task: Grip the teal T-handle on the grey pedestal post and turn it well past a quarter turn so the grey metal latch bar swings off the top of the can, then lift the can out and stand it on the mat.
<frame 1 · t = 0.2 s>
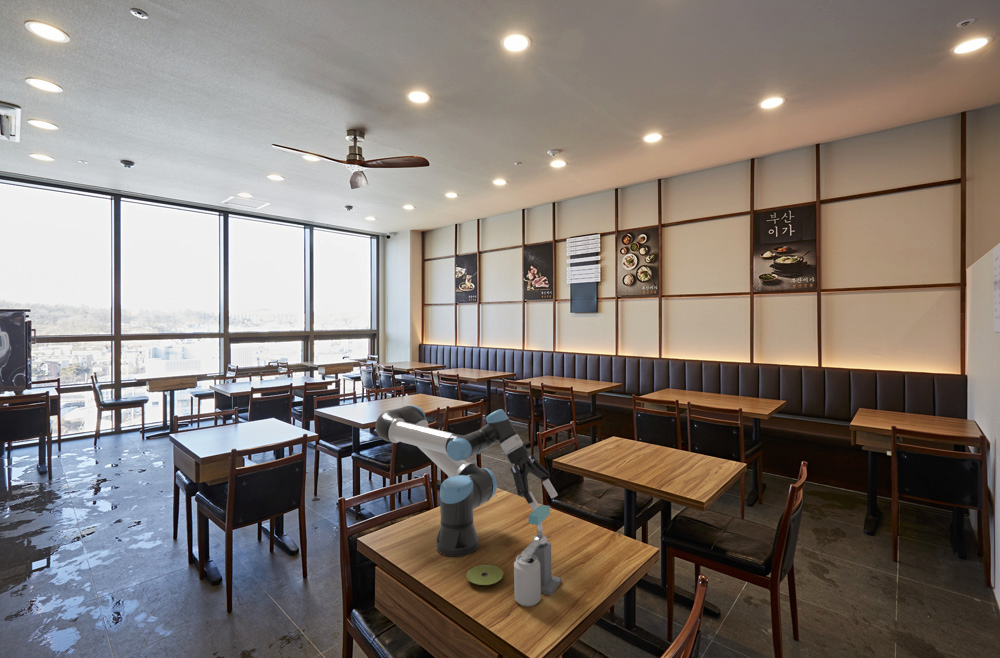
hand: (546, 503, 157), 16 cm above the table, tool tilted 35°, fingers open, 13 cm apart
grey pedestal post: (540, 584, 135), on the table
latch key: (535, 531, 133), point 17 cm above the table, hinge at 0.0°
mat: (485, 581, 138), on the table
can: (527, 601, 127), on the table
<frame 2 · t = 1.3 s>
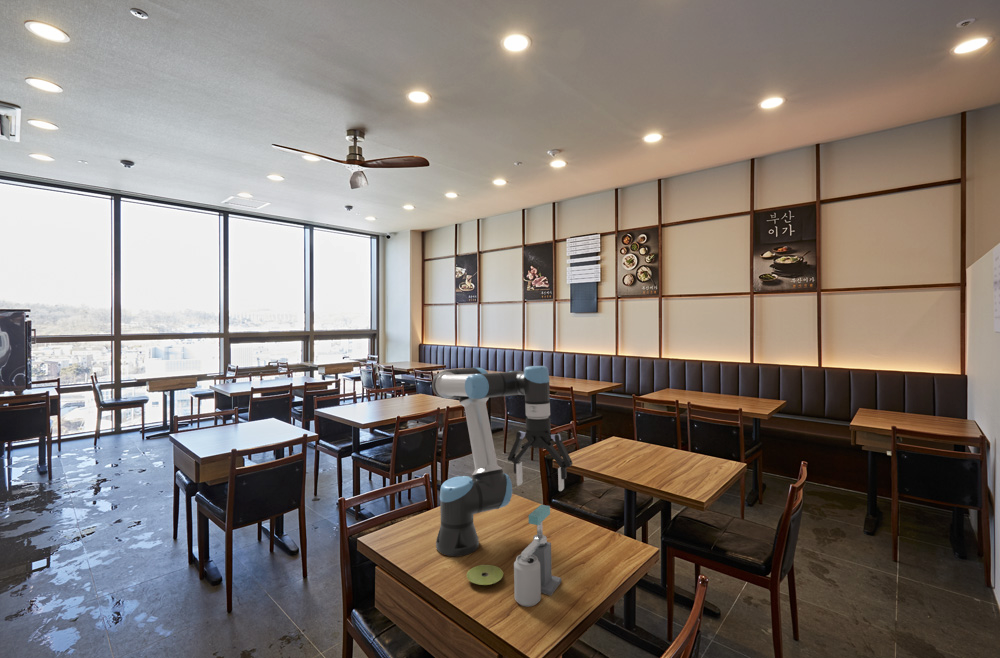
hand: (540, 486, 137), 29 cm above the table, tool pointing down, fingers open, 13 cm apart
nothing on the table moved.
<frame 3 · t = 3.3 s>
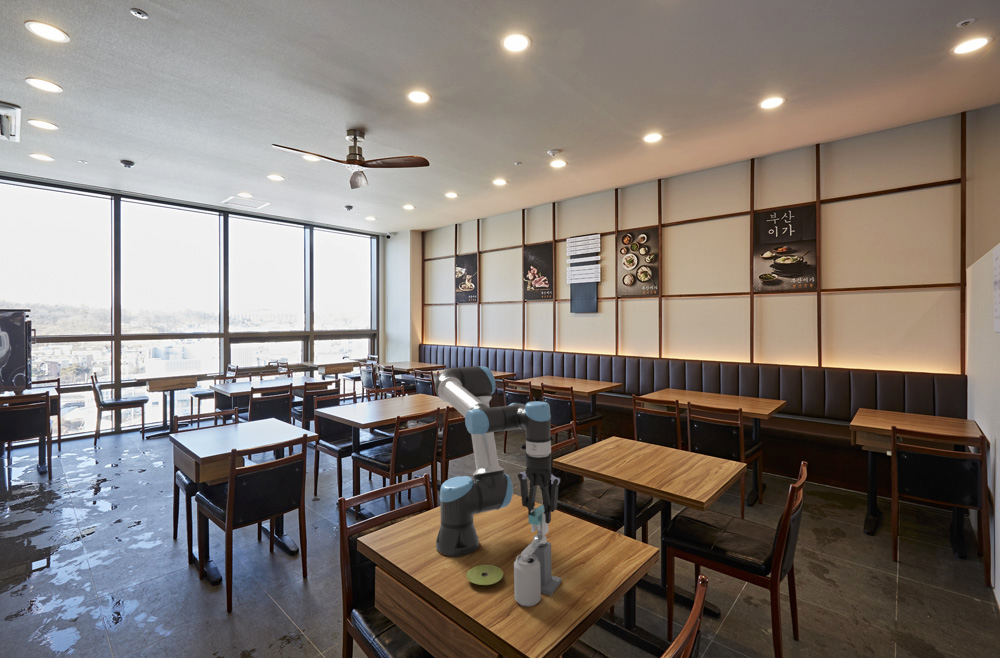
hand: (539, 531, 135), 16 cm above the table, tool pointing down, fingers closed on latch key, 3 cm apart
latch key: (535, 531, 133), point 17 cm above the table, hinge at 0.0°, touching gripper
everything else where it was.
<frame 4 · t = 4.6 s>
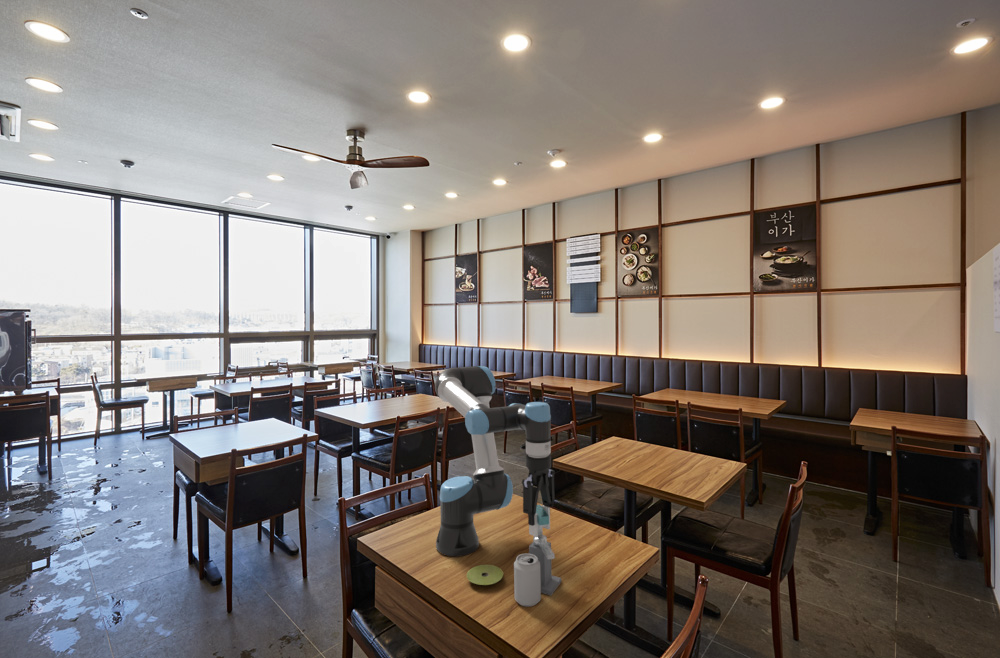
hand: (539, 531, 135), 16 cm above the table, tool pointing down, fingers closed on latch key, 5 cm apart
latch key: (542, 531, 132), point 17 cm above the table, hinge at 41.8°, touching gripper
everything else where it was.
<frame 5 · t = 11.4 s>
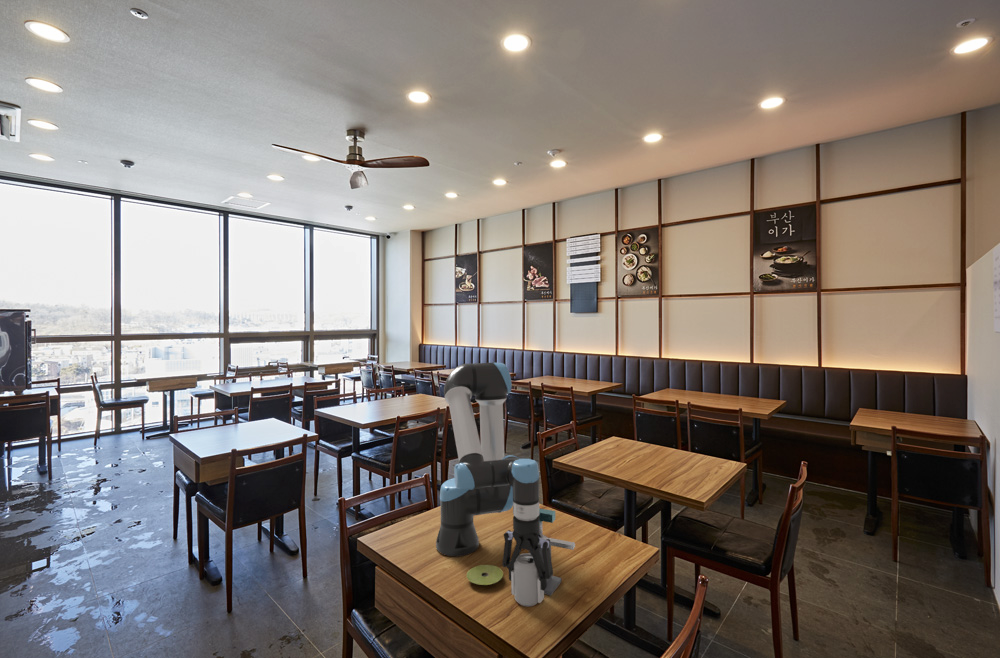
hand: (527, 596, 127), 1 cm above the table, tool pointing down, fingers closed on can, 7 cm apart
latch key: (549, 528, 134), point 17 cm above the table, hinge at 94.9°
can: (527, 600, 127), on the table, touching gripper
everything else where it was.
when the fingers open (4 cm above the table, at t = 17.1 s): can drops 1 cm, resting on mat.
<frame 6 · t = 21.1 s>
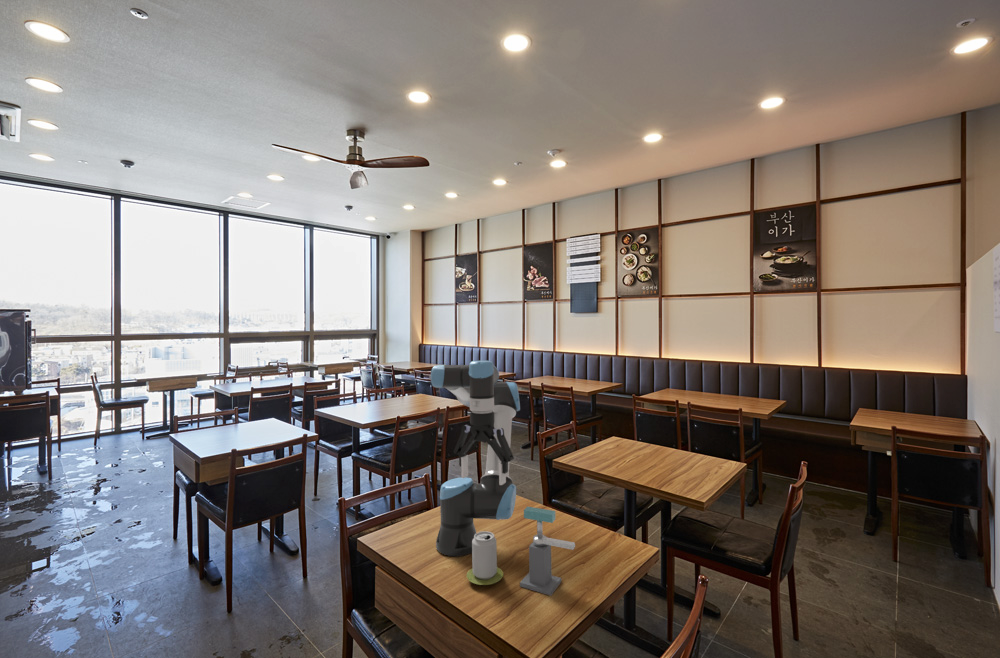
hand: (483, 480, 138), 31 cm above the table, tool pointing down, fingers open, 13 cm apart
mat: (485, 581, 138), on the table, touching can
can: (484, 574, 138), point 2 cm above the table, touching mat
everything else where it was.
at the end: latch key at +95° (first picture: +0°); can 0.0 cm from the mat (horizontally); can tilted 0° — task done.
